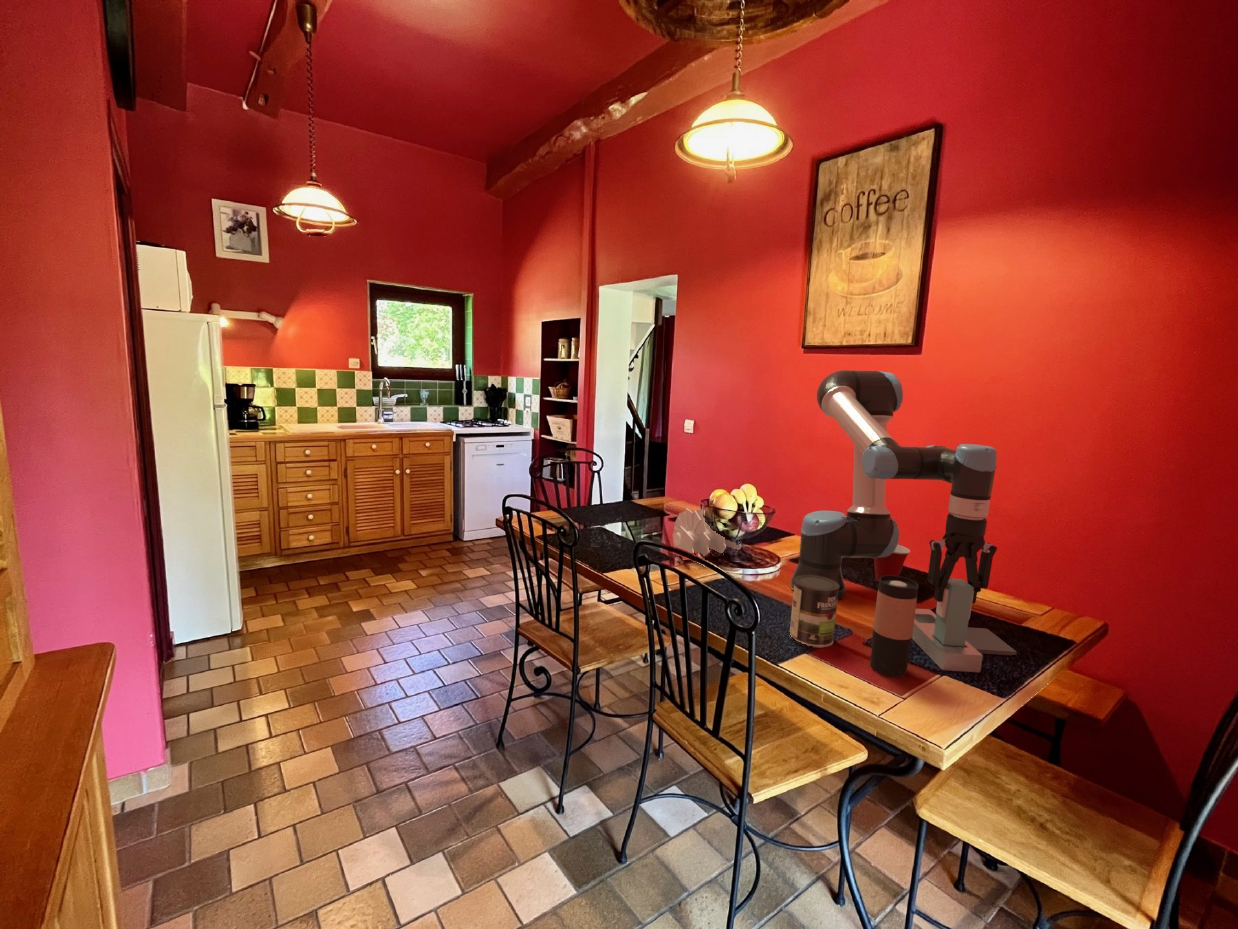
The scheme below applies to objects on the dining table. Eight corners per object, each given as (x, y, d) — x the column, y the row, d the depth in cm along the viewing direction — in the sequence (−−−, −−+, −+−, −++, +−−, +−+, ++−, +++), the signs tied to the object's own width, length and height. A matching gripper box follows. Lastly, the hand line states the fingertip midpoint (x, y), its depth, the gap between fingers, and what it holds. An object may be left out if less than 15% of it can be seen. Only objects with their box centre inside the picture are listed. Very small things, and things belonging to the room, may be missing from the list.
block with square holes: (942, 670, 124) (944, 653, 123) (896, 622, 148) (898, 607, 147) (980, 672, 124) (982, 655, 123) (927, 624, 147) (929, 609, 147)
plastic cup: (912, 590, 170) (917, 551, 168) (876, 588, 170) (881, 550, 168) (896, 577, 181) (900, 541, 179) (862, 576, 181) (866, 539, 179)
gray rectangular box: (943, 645, 127) (952, 586, 125) (933, 635, 132) (941, 578, 129) (964, 646, 127) (973, 587, 124) (953, 637, 131) (962, 579, 129)
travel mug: (862, 660, 127) (872, 575, 124) (894, 659, 128) (905, 575, 124) (880, 678, 120) (891, 588, 116) (915, 678, 120) (926, 588, 117)
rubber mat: (962, 652, 132) (963, 648, 132) (937, 629, 144) (938, 625, 144) (1016, 655, 132) (1016, 651, 132) (986, 632, 144) (986, 628, 143)
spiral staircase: (669, 569, 193) (730, 557, 203) (695, 562, 177) (759, 550, 188) (658, 516, 197) (718, 507, 207) (683, 505, 181) (746, 496, 192)
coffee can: (843, 643, 135) (849, 586, 133) (811, 651, 130) (817, 593, 128) (810, 625, 144) (815, 572, 142) (779, 632, 139) (784, 577, 137)
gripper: (934, 518, 121) (920, 620, 125) (1020, 522, 120) (1002, 625, 124) (918, 509, 128) (905, 606, 132) (998, 513, 127) (983, 610, 131)
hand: (952, 615), depth 128 cm, fingers closed on gray rectangular box, 5 cm apart
